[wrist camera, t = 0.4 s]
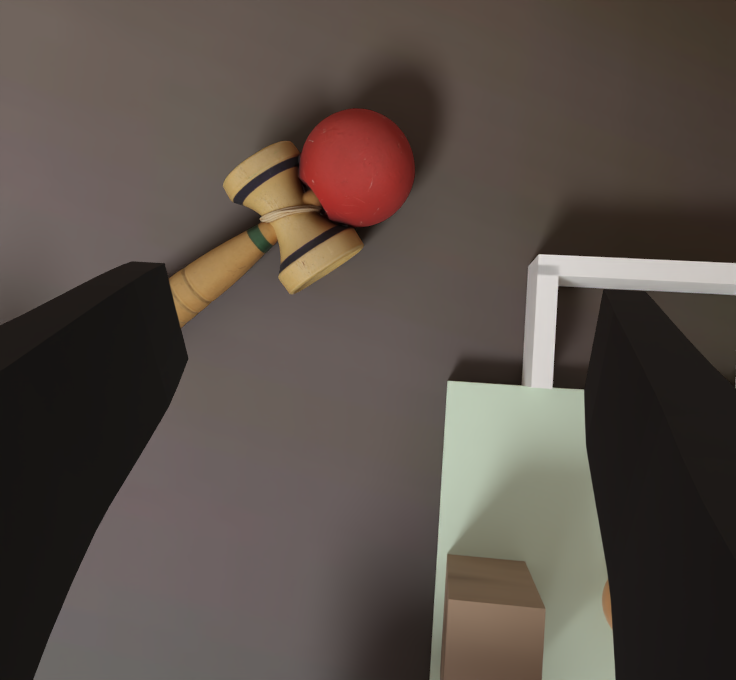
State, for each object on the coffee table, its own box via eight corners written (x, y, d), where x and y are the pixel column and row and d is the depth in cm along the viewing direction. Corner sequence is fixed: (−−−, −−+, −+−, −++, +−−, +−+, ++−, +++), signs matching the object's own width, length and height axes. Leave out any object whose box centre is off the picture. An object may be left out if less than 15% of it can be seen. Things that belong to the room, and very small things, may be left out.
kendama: (204, 393, 40) (457, 210, 37) (136, 389, 34) (430, 170, 31) (149, 288, 43) (383, 105, 39) (76, 267, 37) (344, 48, 33)
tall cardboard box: (518, 679, 35) (537, 756, 28) (440, 670, 36) (439, 744, 29) (524, 561, 35) (545, 608, 28) (446, 554, 36) (448, 599, 29)
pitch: (759, 752, 35) (800, 802, 31) (427, 713, 37) (425, 755, 33) (780, 278, 36) (822, 267, 32) (454, 262, 38) (456, 250, 34)
